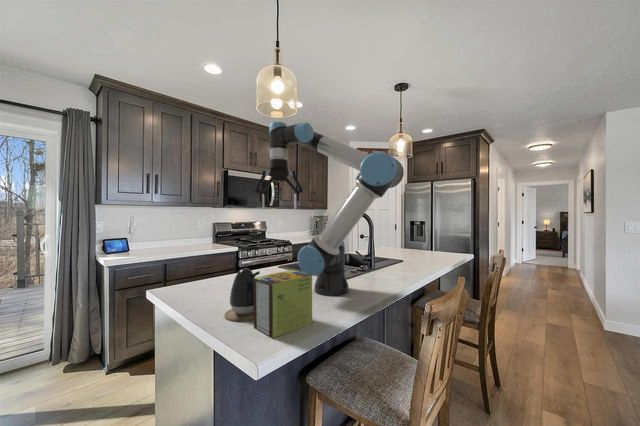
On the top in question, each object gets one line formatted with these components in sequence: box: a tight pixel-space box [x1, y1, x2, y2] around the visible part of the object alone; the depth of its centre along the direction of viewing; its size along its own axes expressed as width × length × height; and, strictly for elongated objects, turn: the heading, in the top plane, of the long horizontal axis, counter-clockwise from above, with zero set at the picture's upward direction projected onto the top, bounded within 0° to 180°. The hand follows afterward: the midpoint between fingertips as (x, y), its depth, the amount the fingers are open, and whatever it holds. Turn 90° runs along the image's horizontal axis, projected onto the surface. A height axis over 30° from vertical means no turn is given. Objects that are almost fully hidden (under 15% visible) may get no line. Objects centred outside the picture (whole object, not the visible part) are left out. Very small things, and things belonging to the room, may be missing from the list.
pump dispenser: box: [229, 267, 261, 315], centre depth 96 cm, size 10×10×15 cm
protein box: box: [253, 269, 313, 339], centre depth 86 cm, size 10×15×16 cm
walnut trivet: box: [224, 308, 254, 323], centre depth 95 cm, size 13×13×1 cm
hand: (279, 209), depth 119 cm, fingers open, 13 cm apart
